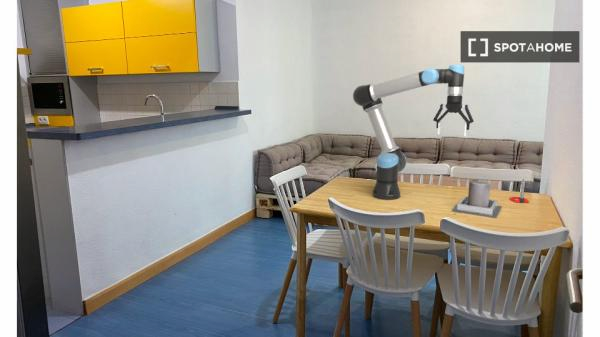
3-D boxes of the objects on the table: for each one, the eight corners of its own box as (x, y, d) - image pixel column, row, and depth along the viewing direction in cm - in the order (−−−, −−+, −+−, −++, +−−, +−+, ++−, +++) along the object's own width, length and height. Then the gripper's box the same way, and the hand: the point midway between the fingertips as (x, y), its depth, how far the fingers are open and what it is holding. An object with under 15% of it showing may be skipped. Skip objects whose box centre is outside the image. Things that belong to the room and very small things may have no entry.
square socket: (452, 211, 201) (452, 204, 201) (460, 202, 216) (460, 195, 215) (496, 218, 191) (497, 210, 190) (501, 207, 205) (502, 200, 205)
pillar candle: (464, 205, 208) (466, 176, 205) (484, 205, 208) (486, 176, 204) (471, 211, 199) (473, 181, 196) (491, 211, 198) (494, 181, 195)
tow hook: (507, 198, 222) (513, 202, 213) (509, 175, 220) (515, 178, 211) (523, 199, 221) (530, 203, 212) (525, 175, 219) (532, 179, 210)
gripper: (481, 95, 211) (478, 135, 215) (432, 94, 224) (430, 132, 228) (479, 95, 205) (475, 137, 209) (428, 95, 218) (426, 134, 222)
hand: (451, 135), depth 219 cm, fingers open, 13 cm apart
